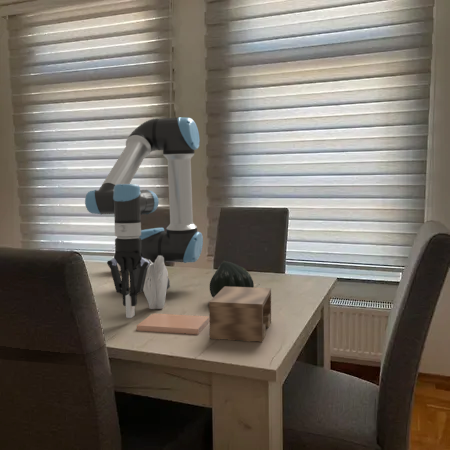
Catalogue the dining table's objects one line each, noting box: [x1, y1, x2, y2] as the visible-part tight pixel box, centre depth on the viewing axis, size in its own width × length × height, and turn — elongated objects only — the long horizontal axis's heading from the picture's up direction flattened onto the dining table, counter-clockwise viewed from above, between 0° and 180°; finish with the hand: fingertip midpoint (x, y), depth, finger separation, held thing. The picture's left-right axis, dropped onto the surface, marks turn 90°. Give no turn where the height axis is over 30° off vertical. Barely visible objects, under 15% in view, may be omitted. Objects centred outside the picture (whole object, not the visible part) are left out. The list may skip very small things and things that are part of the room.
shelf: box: [208, 286, 272, 343], centre depth 130 cm, size 14×18×10 cm
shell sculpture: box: [143, 256, 169, 310], centre depth 152 cm, size 8×8×18 cm
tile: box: [136, 312, 210, 335], centre depth 135 cm, size 18×12×2 cm, turn 77°
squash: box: [209, 260, 255, 299], centre depth 159 cm, size 14×15×15 cm
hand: (130, 316), depth 137 cm, fingers closed
